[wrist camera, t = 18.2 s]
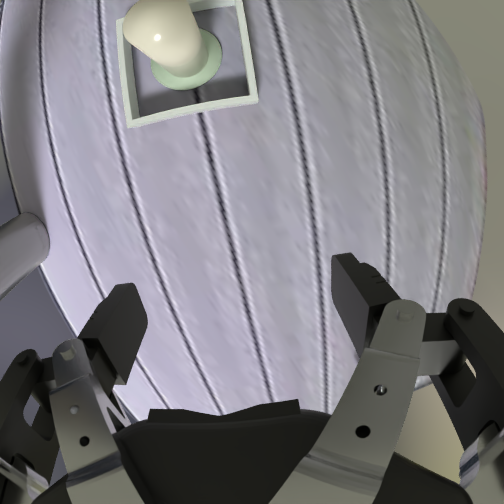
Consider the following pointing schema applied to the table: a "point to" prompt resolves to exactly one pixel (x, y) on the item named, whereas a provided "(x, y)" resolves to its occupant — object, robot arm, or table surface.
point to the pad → (199, 78)
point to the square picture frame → (197, 2)
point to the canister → (167, 35)
